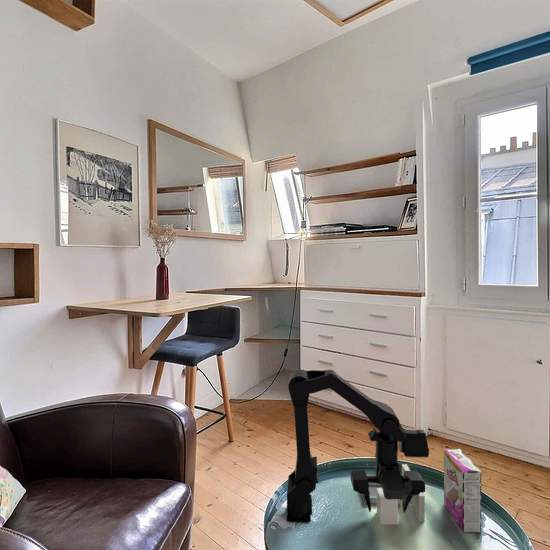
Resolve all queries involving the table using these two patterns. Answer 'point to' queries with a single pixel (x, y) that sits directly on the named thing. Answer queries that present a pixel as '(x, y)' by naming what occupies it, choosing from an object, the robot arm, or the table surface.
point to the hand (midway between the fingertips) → (386, 511)
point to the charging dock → (373, 495)
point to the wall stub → (416, 500)
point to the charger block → (386, 509)
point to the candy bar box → (462, 490)
